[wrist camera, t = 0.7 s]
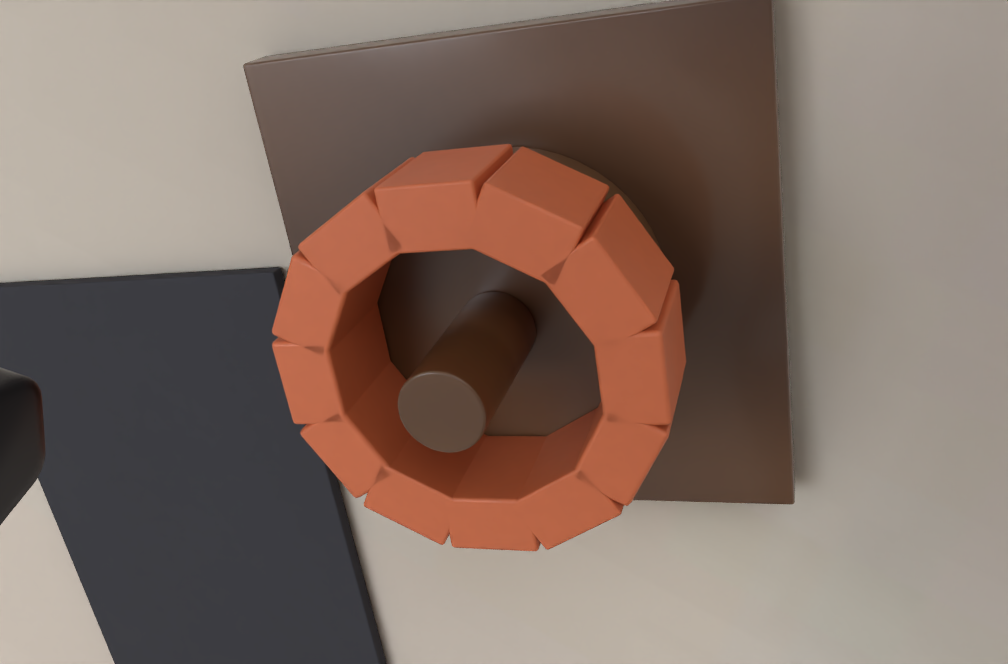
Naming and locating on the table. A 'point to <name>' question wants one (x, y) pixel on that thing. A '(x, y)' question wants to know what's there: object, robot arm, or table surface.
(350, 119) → the stand
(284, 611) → the felt mat
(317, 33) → the table surface
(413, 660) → the table surface
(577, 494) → the terracotta ring
